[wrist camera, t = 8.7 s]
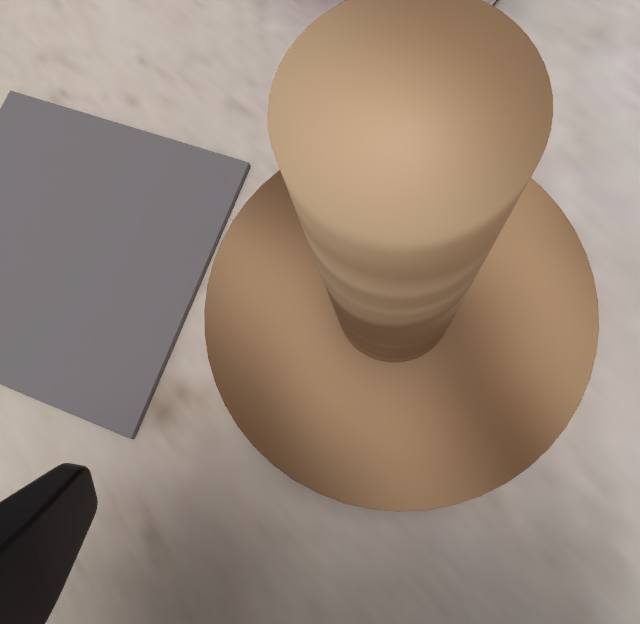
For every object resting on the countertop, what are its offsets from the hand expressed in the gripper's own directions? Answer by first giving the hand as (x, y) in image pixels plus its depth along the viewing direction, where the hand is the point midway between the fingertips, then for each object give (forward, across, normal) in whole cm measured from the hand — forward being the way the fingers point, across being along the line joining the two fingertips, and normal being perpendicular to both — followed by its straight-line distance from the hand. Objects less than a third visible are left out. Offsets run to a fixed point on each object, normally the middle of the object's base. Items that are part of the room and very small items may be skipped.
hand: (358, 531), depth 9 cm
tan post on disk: (+9, 0, +2) cm, 9 cm away
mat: (+14, +14, +3) cm, 20 cm away
